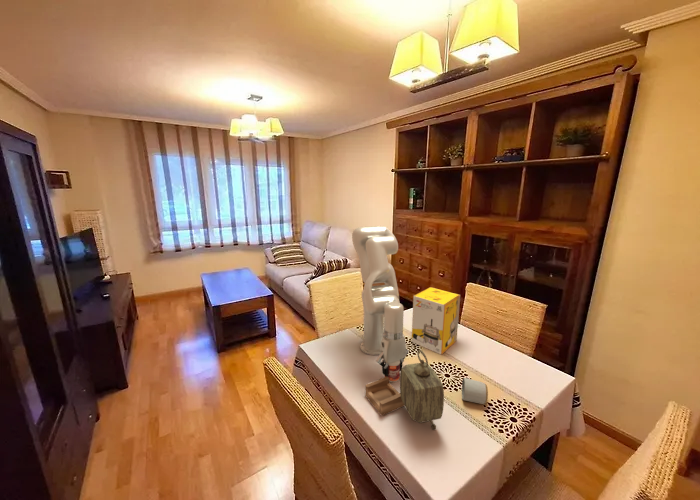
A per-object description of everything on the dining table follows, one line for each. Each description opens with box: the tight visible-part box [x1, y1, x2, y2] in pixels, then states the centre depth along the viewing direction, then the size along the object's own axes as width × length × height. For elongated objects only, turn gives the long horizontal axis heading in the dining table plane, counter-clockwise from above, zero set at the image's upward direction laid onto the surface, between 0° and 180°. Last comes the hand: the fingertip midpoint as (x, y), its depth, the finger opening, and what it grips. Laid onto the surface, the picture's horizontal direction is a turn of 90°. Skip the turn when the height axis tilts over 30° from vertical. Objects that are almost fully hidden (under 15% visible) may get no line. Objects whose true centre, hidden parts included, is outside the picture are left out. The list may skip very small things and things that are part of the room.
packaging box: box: [411, 286, 461, 355], centre depth 140 cm, size 16×16×25 cm
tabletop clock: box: [399, 349, 445, 431], centre depth 93 cm, size 14×9×25 cm, turn 12°
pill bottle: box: [384, 360, 401, 383], centre depth 115 cm, size 6×6×11 cm
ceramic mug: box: [461, 377, 489, 405], centre depth 105 cm, size 11×8×8 cm
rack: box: [364, 376, 405, 417], centre depth 103 cm, size 11×10×5 cm
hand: (392, 371), depth 116 cm, fingers open, 6 cm apart
